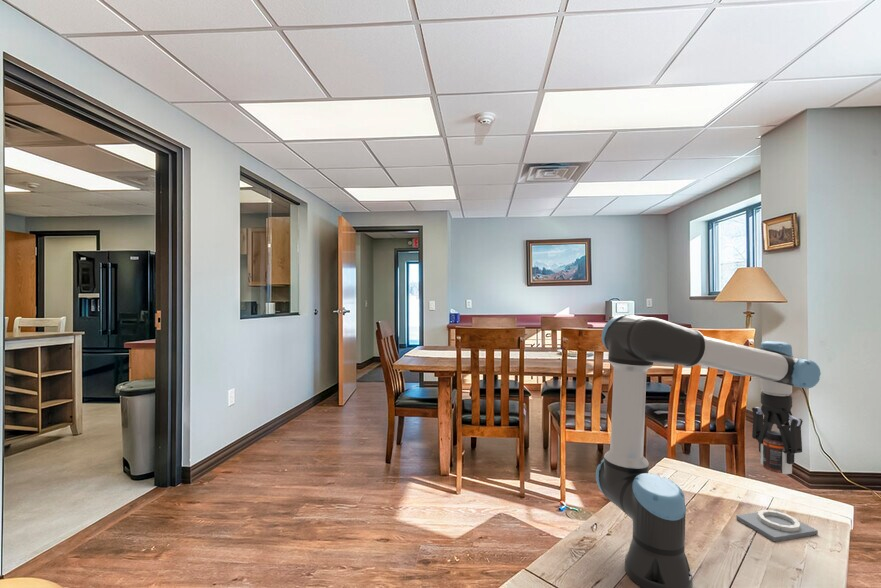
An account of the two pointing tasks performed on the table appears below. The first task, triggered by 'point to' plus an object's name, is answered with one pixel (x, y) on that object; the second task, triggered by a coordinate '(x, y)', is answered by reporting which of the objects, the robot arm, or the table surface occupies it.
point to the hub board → (776, 525)
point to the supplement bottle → (773, 451)
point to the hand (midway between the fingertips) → (775, 468)
